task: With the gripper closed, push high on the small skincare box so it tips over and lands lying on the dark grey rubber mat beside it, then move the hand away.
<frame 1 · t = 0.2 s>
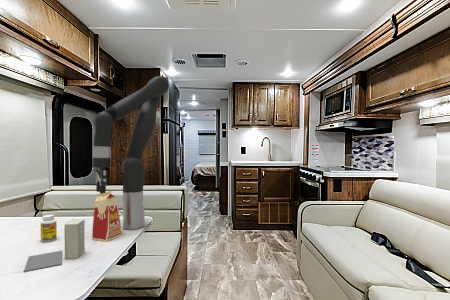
hand: (100, 192, 121), 18 cm above the table, tool pointing down, fingers open, 8 cm apart
mat: (44, 261, 91), on the table
supplement bottle: (48, 240, 111), on the table
milk carton: (106, 237, 114), on the table
skincare box: (75, 256, 95), on the table
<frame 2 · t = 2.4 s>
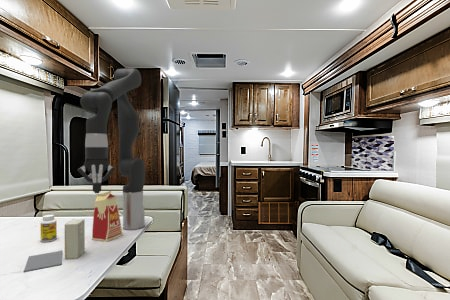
hand: (96, 192, 99), 21 cm above the table, tool pointing down, fingers closed
nothing on the table moved.
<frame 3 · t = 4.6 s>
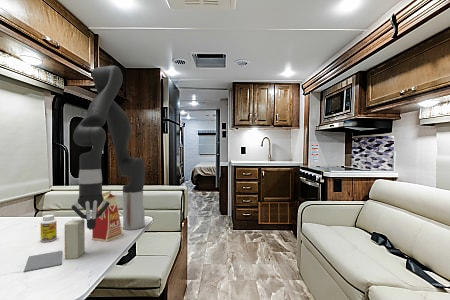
hand: (91, 229, 98), 9 cm above the table, tool pointing down, fingers closed
skincare box: (75, 256, 95), on the table, touching gripper
everything else where it was.
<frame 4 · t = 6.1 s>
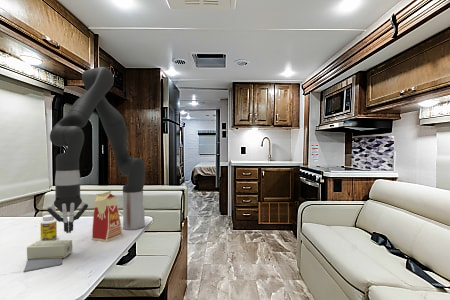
hand: (68, 232, 94), 9 cm above the table, tool pointing down, fingers closed
skincare box: (69, 248, 95), point 3 cm above the table, touching mat
everything else where it was.
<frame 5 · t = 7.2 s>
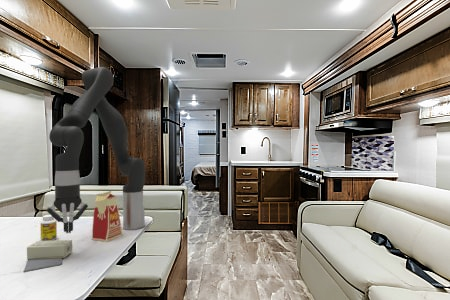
hand: (68, 232, 94), 8 cm above the table, tool pointing down, fingers closed
nothing on the table moved.
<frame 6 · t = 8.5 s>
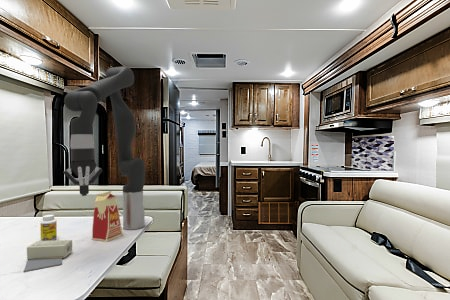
hand: (84, 195, 97), 21 cm above the table, tool pointing down, fingers closed
nothing on the table moved.
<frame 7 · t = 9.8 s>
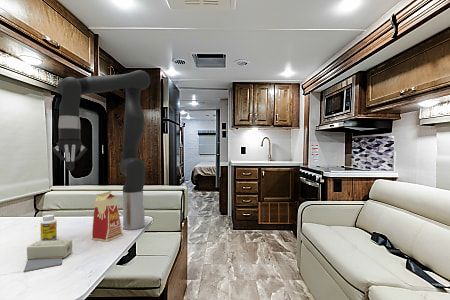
hand: (70, 170, 108), 29 cm above the table, tool pointing down, fingers closed
nothing on the table moved.
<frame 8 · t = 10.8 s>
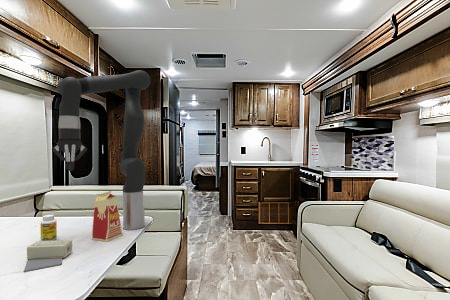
hand: (70, 170, 108), 29 cm above the table, tool pointing down, fingers closed
nothing on the table moved.
at the end: skincare box tilted 90°; skincare box touching mat; skincare box inside the target area (1.5 cm from its centre), point 2.6 cm above the table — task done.
